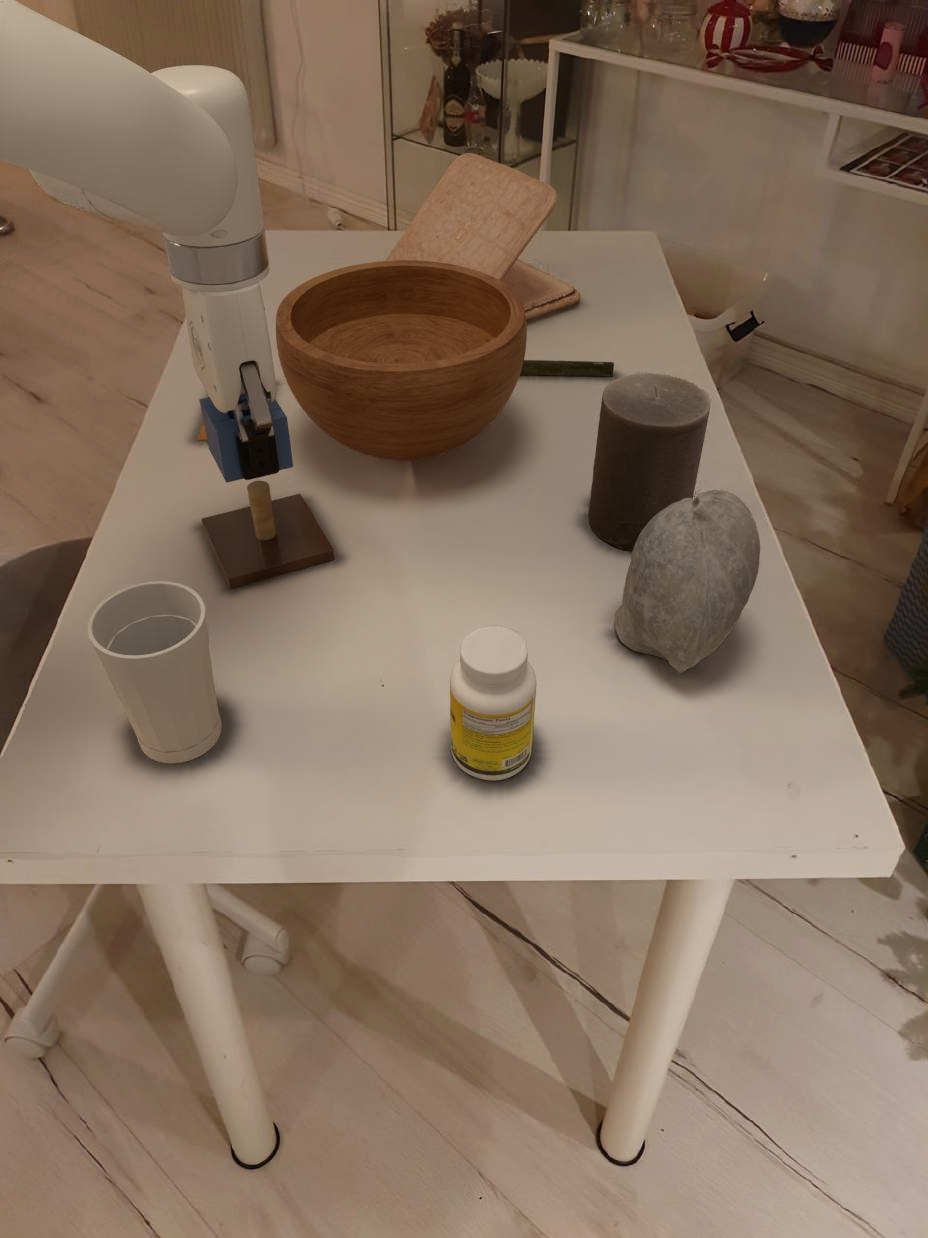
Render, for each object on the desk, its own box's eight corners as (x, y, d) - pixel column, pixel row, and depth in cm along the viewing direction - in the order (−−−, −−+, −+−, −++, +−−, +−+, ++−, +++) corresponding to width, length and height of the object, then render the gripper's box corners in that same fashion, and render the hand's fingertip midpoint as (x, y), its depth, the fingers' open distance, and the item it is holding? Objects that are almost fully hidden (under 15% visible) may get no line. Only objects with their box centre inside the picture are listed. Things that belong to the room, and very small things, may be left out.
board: (271, 385, 116) (269, 374, 115) (254, 440, 107) (252, 428, 106) (218, 385, 116) (216, 374, 115) (197, 440, 107) (194, 428, 106)
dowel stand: (230, 589, 89) (218, 530, 84) (203, 528, 95) (190, 471, 91) (334, 559, 92) (328, 502, 87) (301, 502, 98) (293, 446, 94)
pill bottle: (466, 712, 78) (466, 609, 70) (541, 732, 76) (549, 629, 69) (438, 771, 73) (436, 667, 66) (517, 793, 72) (524, 690, 64)
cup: (216, 682, 80) (189, 568, 72) (245, 749, 75) (218, 636, 67) (118, 714, 77) (77, 600, 69) (140, 786, 72) (99, 672, 64)
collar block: (226, 483, 84) (216, 432, 80) (208, 448, 88) (199, 398, 84) (293, 467, 86) (287, 416, 82) (273, 434, 90) (266, 384, 86)
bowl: (242, 453, 105) (219, 321, 95) (393, 363, 120) (387, 240, 110) (424, 540, 94) (419, 401, 84) (565, 429, 109) (576, 300, 98)
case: (375, 291, 135) (367, 169, 124) (495, 255, 144) (498, 138, 133) (463, 348, 123) (463, 218, 112) (588, 304, 132) (599, 180, 121)
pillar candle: (610, 560, 92) (628, 420, 82) (574, 501, 99) (587, 365, 89) (705, 543, 94) (734, 404, 84) (663, 486, 101) (685, 352, 90)
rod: (612, 374, 118) (613, 359, 116) (612, 378, 117) (614, 363, 116) (353, 370, 118) (351, 355, 117) (352, 374, 118) (350, 358, 116)
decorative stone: (600, 578, 90) (618, 437, 80) (711, 574, 90) (743, 433, 80) (631, 699, 79) (657, 553, 69) (757, 693, 79) (801, 548, 69)
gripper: (144, 222, 79) (185, 418, 91) (195, 306, 67) (234, 518, 80) (235, 209, 81) (263, 402, 94) (300, 288, 70) (322, 496, 82)
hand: (249, 453), depth 86 cm, fingers closed on collar block, 6 cm apart
